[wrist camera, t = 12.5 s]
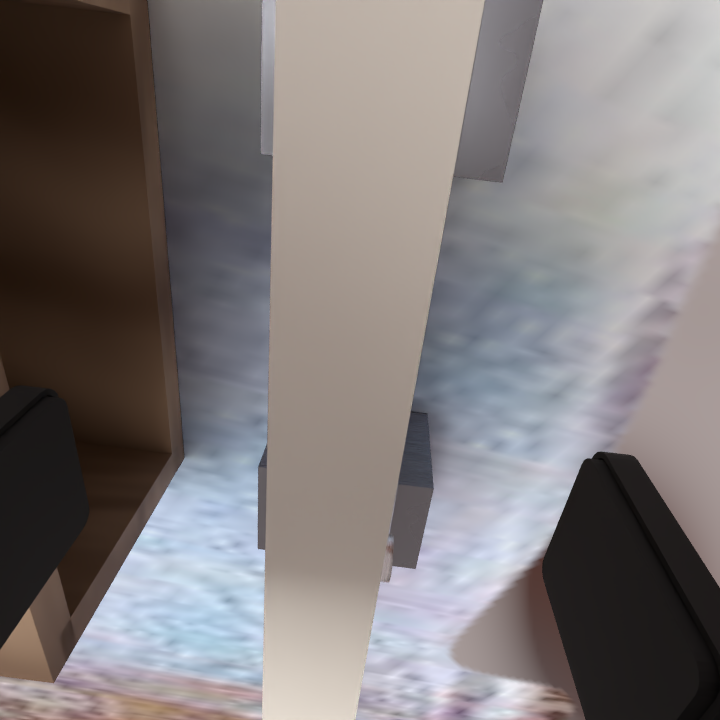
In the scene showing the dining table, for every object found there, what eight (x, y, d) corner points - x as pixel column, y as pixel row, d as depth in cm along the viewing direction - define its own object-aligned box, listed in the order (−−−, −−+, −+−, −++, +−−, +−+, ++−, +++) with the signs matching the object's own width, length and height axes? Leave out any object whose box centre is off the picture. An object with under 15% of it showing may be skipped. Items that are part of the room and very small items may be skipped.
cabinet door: (365, -11, 15) (280, -260, 4) (462, 0, 15) (625, -222, 4) (323, 470, 23) (260, 790, 13) (384, 478, 23) (372, 804, 13)
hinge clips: (299, -13, 15) (262, -49, 11) (507, 11, 15) (547, -18, 11) (281, 470, 23) (257, 548, 19) (412, 486, 23) (415, 568, 19)
